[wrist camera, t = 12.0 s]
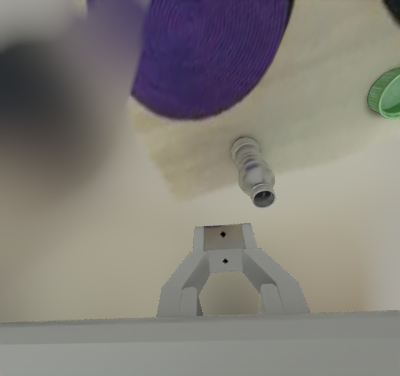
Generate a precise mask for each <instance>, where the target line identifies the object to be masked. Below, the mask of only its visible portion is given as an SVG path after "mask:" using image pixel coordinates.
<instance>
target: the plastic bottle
mask: <svg viewBox="0 0 400 376" xmlns="http://www.w3.org/2000/svg"><path fill="white" fill-rule="evenodd" d="M231 154H232V158H233V160H234V162H235V163H236V165H237V167H238V172H239V186H240V188H241V189H242V191H244V193H245V194H247V195H248V196H250V197H251V199H252V201H253V204H254V205H255V206H256V207H259V208H266V207H269V206H271V205H272V204H273V203H274V201H275V194H274V190H273V186H274V183H275V175H274V172H273V171H272V169H271V168H270V167H269V166H268V165H267V164H266V163H265V162H264V160H263V159H262V157H261V154H260V148H259V145H258V143H257V142H256V141H254V140H253V139H251V138H248V137H244V138H240V139H239V140H237V141H236V142H235V143H234V145H233V147H232V153H231Z"/></svg>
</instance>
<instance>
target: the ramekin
mask: <svg viewBox="0 0 400 376" xmlns="http://www.w3.org/2000/svg"><path fill="white" fill-rule="evenodd" d="M368 104H369V107H370V108H371V109H372V110H373V111H375V112H377V113H379V114H381V115H382V116H383V117H385V118H387V119H400V68H397V69H394V70H391V71H389V72H387V73H386V74H384V75H383V76H381V77H380V78H379V79H378V80H377V81H376V82H375V83H374V85H373V86H372V88H371V90H370V92H369V95H368Z"/></svg>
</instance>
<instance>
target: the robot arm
mask: <svg viewBox="0 0 400 376" xmlns="http://www.w3.org/2000/svg"><path fill="white" fill-rule="evenodd" d="M237 271H243V273H244V274H245V276H246V277H247V278H248V279H249V281H250V282H251V283H252V285H253V286H254V287H255V288H256V290H257V291H258V292H259V294H260V298H259V307H258V314H252V315H219V316H203V312H202V308H201V304H200V300H199V294H200V292H201V290H202V289H203V287H204V285H205V283H206V281H207V279H208V277H209V276H210V273H216V272H237ZM0 376H400V310H388V311H355V312H320V313H310V310H309V307H308V305H307V302H306V300H305V297H304V295H303V293H302V290H301V287H300V285H299V283H298V281H297V280H296V279H294V278H293V277H292V276H291V275H290V274H289V273H288V272H287V271H286V270H284V269H283V268H282V267H281V266H280V265H279V264H278V263H277V262H275V261H274V260H273V259H272V258H271V257H270V256H269V255H268V254H267V253H265V252H264V251H263V250H262V249H261V248H257V245H256V241H255V237H254V234H253V230H252V226H251V224H250V223H243V224H231V225H222V226H221V225H220V226H202V227H195V228H194V239H193V252H190V253H189V254H188V255H187V256H186V258H185V259H184V260H183V261H182V263H181V264H180V265H179V267H178V268H177V269H176V270H175V272H174V273H173V274H172V275H171V277H170V278H169V279H168V281H167V282H166V283H165V284H164V286H163V287H162V290H161V295H160V301H159V306H158V311H157V317H151V318H119V319H84V320H54V321H16V322H0Z"/></svg>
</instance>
